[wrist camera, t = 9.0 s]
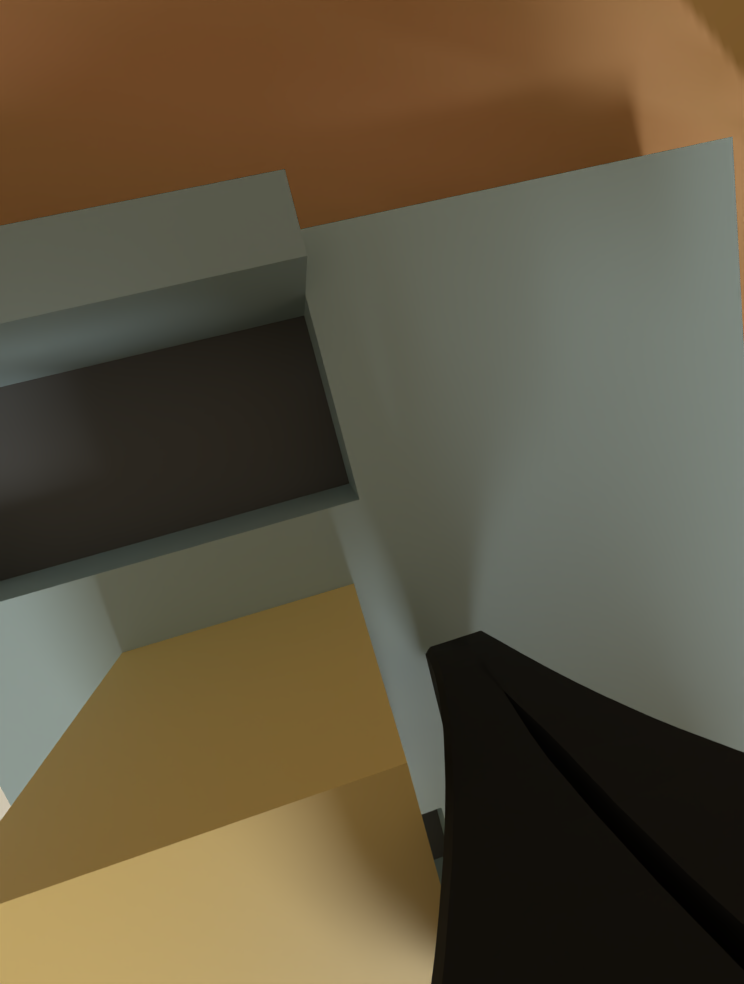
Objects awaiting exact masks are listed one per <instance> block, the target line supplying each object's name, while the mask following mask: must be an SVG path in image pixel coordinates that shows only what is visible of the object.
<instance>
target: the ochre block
mask: <svg viewBox="0 0 744 984" xmlns="http://www.w3.org/2000/svg"><path fill="white" fill-rule="evenodd" d="M440 891H441V884H440V881H439V877H438V873H437V870H436V866H435V862H434V859H433V855H432V851H431V848H430V844H429V840H428V837H427V833H426V830H425V826H424V822H423V819H422V815H421V811H420V808H419V804H418V800H417V797H416V793H415V789H414V786H413V782H412V778H411V775H410V771H409V767H408V764H407V760H406V757H405V754H404V750H403V747H402V743H401V740H400V737H399V733H398V730H397V727H396V723H395V720H394V717H393V713H392V710H391V707H390V703H389V700H388V696H387V693H386V690H385V686H384V683H383V680H382V676H381V673H380V670H379V666H378V663H377V660H376V656H375V653H374V649H373V646H372V643H371V639H370V636H369V633H368V629H367V626H366V623H365V619H364V616H363V613H362V609H361V606H360V602H359V599H358V596H357V592H356V589H355V586H354V584H350V585H347V586H344V587H340V588H337V589H334V590H330V591H327V592H324V593H320V594H317V595H314V596H310V597H307V598H304V599H300V600H297V601H294V602H290V603H287V604H284V605H280V606H277V607H274V608H270V609H267V610H263V611H260V612H257V613H253V614H250V615H247V616H243V617H240V618H237V619H233V620H230V621H227V622H223V623H220V624H217V625H213V626H210V627H207V628H203V629H200V630H197V631H193V632H190V633H186V634H183V635H180V636H176V637H173V638H170V639H166V640H163V641H160V642H156V643H153V644H150V645H146V646H143V647H140V648H136V649H133V650H130V651H126V652H123V653H122V654H121V655H120V656H119V658H118V659H117V661H116V662H115V663H114V665H113V666H112V667H111V669H110V670H109V672H108V673H107V674H106V676H105V677H104V678H103V680H102V681H101V683H100V684H99V685H98V687H97V688H96V690H95V691H94V692H93V694H92V695H91V696H90V698H89V699H88V701H87V702H86V703H85V705H84V706H83V707H82V709H81V710H80V712H79V713H78V714H77V716H76V717H75V719H74V720H73V721H72V723H71V724H70V725H69V727H68V728H67V730H66V731H65V732H64V734H63V735H62V736H61V738H60V739H59V741H58V742H57V743H56V745H55V746H54V748H53V749H52V750H51V752H50V753H49V754H48V756H47V757H46V759H45V760H44V761H43V763H42V764H41V765H40V767H39V768H38V770H37V771H36V772H35V774H34V775H33V777H32V778H31V779H30V781H29V782H28V783H27V785H26V786H25V788H24V789H23V790H22V792H21V793H20V794H19V796H18V797H17V799H16V800H15V801H14V803H13V804H12V806H11V807H10V808H9V810H8V811H7V812H6V814H5V815H4V817H3V818H2V819H1V821H0V984H431V980H432V972H433V965H434V956H435V947H436V937H437V927H438V917H439V904H440Z"/></svg>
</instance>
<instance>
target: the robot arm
mask: <svg viewBox="0 0 744 984" xmlns="http://www.w3.org/2000/svg"><path fill="white" fill-rule="evenodd" d="M425 655H426V659H427V663H428V667H429V671H430V675H431V679H432V683H433V688H434V692H435V696H436V700H437V704H438V708H439V712H440V716H441V720H442V724H443V735H444V760H445V826H444V850H443V865H442V878H441V891H440V904H439V917H438V927H437V937H436V947H435V956H434V965H433V972H432V980H431V984H744V752H742V751H739V750H736V749H733V748H731V747H728V746H725V745H723V744H720V743H717V742H715V741H712V740H709V739H707V738H704V737H701V736H699V735H696V734H693V733H691V732H688V731H686V730H683V729H680V728H678V727H675V726H673V725H670V724H668V723H665V722H663V721H660V720H658V719H656V718H653V717H651V716H648V715H646V714H644V713H642V712H639V711H637V710H635V709H633V708H630V707H628V706H626V705H624V704H622V703H619V702H617V701H615V700H613V699H610V698H608V697H606V696H604V695H602V694H600V693H597V692H595V691H593V690H591V689H589V688H587V687H585V686H583V685H581V684H579V683H577V682H575V681H573V680H571V679H569V678H567V677H565V676H563V675H561V674H559V673H557V672H555V671H554V670H552V669H550V668H548V667H546V666H544V665H542V664H540V663H538V662H537V661H535V660H533V659H531V658H529V657H528V656H526V655H524V654H522V653H520V652H519V651H517V650H515V649H513V648H511V647H510V646H508V645H506V644H504V643H503V642H501V641H499V640H497V639H496V638H494V637H492V636H490V635H488V634H487V633H485V632H483V631H478V632H475V633H472V634H469V635H465V636H462V637H459V638H456V639H453V640H450V641H447V642H444V643H441V644H437V645H434V646H431V647H430V648H429V649H428V651H427V652H426V654H425Z"/></svg>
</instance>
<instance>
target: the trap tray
mask: <svg viewBox="0 0 744 984" xmlns="http://www.w3.org/2000/svg"><path fill="white" fill-rule="evenodd" d="M350 584H354V586H355V589H356V592H357V596H358V599H359V602H360V606H361V609H362V613H363V616H364V619H365V623H366V626H367V629H368V633H369V636H370V639H371V643H372V646H373V649H374V653H375V656H376V660H377V663H378V666H379V670H380V673H381V676H382V680H383V683H384V686H385V690H386V693H387V696H388V700H389V703H390V707H391V710H392V713H393V717H394V720H395V723H396V727H397V730H398V733H399V737H400V740H401V743H402V747H403V750H404V754H405V757H406V760H407V764H408V767H409V771H410V775H411V778H412V782H413V786H414V789H415V793H416V797H417V800H418V804H419V808H420V811H421V815H422V819H423V822H424V826H425V830H426V833H427V837H428V840H429V844H430V848H431V851H432V855H433V859H434V862H435V866H436V870H437V873H438V877H439V881H440V884H441V878H442V865H443V850H444V826H445V760H444V735H443V724H442V720H441V716H440V712H439V708H438V704H437V700H436V696H435V692H434V688H433V683H432V679H431V675H430V671H429V667H428V663H427V659H426V655H425V654H426V652H427V651H428V649H429V648H430V647H431V646H434V645H437V644H441V643H444V642H447V641H450V640H453V639H456V638H459V637H462V636H465V635H469V634H472V633H475V632H478V631H483V632H485V633H487V634H488V635H490V636H492V637H494V638H496V639H497V640H499V641H501V642H503V643H504V644H506V645H508V646H510V647H511V648H513V649H515V650H517V651H519V652H520V653H522V654H524V655H526V656H528V657H529V658H531V659H533V660H535V661H537V662H538V663H540V664H542V665H544V666H546V667H548V668H550V669H552V670H554V671H555V672H557V673H559V674H561V675H563V676H565V677H567V678H569V679H571V680H573V681H575V682H577V683H579V684H581V685H583V686H585V687H587V688H589V689H591V690H593V691H595V692H597V693H600V694H602V695H604V696H606V697H608V698H610V699H613V700H615V701H617V702H619V703H622V704H624V705H626V706H628V707H630V708H633V709H635V710H637V711H639V712H642V713H644V714H646V715H648V716H651V717H653V718H656V719H658V720H660V721H663V722H665V723H668V724H670V725H673V726H675V727H678V728H680V729H683V730H686V731H688V732H691V733H693V734H696V735H699V736H701V737H704V738H707V739H709V740H712V741H715V742H717V743H720V744H723V745H725V746H728V747H731V748H733V749H736V750H739V751H742V752H744V342H743V324H742V305H741V287H740V268H739V249H738V231H737V212H736V194H735V175H734V157H733V138H732V137H729V138H724V139H719V140H715V141H710V142H705V143H701V144H696V145H691V146H687V147H682V148H677V149H673V150H668V151H663V152H659V153H654V154H649V155H645V156H640V157H635V158H631V159H626V160H621V161H617V162H612V163H607V164H603V165H598V166H593V167H589V168H584V169H579V170H575V171H570V172H565V173H561V174H556V175H551V176H547V177H542V178H537V179H533V180H528V181H523V182H519V183H514V184H509V185H505V186H500V187H495V188H491V189H486V190H481V191H477V192H472V193H467V194H463V195H458V196H453V197H449V198H444V199H440V200H435V201H430V202H426V203H421V204H416V205H412V206H407V207H402V208H398V209H393V210H388V211H384V212H379V213H374V214H370V215H365V216H360V217H356V218H351V219H346V220H342V221H337V222H332V223H328V224H323V225H318V226H314V227H309V228H304V229H300V226H299V222H298V218H297V215H296V211H295V207H294V203H293V199H292V195H291V191H290V188H289V184H288V180H287V176H286V172H285V169H283V170H278V171H273V172H268V173H263V174H257V175H252V176H247V177H242V178H237V179H232V180H227V181H222V182H217V183H212V184H207V185H202V186H197V187H192V188H187V189H182V190H177V191H172V192H167V193H162V194H157V195H152V196H147V197H142V198H137V199H132V200H127V201H122V202H117V203H112V204H107V205H102V206H97V207H92V208H87V209H82V210H77V211H72V212H67V213H62V214H57V215H51V216H46V217H41V218H36V219H31V220H26V221H21V222H16V223H11V224H6V225H1V226H0V821H1V819H2V818H3V817H4V815H5V814H6V812H7V811H8V810H9V808H10V807H11V806H12V804H13V803H14V801H15V800H16V799H17V797H18V796H19V794H20V793H21V792H22V790H23V789H24V788H25V786H26V785H27V783H28V782H29V781H30V779H31V778H32V777H33V775H34V774H35V772H36V771H37V770H38V768H39V767H40V765H41V764H42V763H43V761H44V760H45V759H46V757H47V756H48V754H49V753H50V752H51V750H52V749H53V748H54V746H55V745H56V743H57V742H58V741H59V739H60V738H61V736H62V735H63V734H64V732H65V731H66V730H67V728H68V727H69V725H70V724H71V723H72V721H73V720H74V719H75V717H76V716H77V714H78V713H79V712H80V710H81V709H82V707H83V706H84V705H85V703H86V702H87V701H88V699H89V698H90V696H91V695H92V694H93V692H94V691H95V690H96V688H97V687H98V685H99V684H100V683H101V681H102V680H103V678H104V677H105V676H106V674H107V673H108V672H109V670H110V669H111V667H112V666H113V665H114V663H115V662H116V661H117V659H118V658H119V656H120V655H121V654H122V653H123V652H126V651H130V650H133V649H136V648H140V647H143V646H146V645H150V644H153V643H156V642H160V641H163V640H166V639H170V638H173V637H176V636H180V635H183V634H186V633H190V632H193V631H197V630H200V629H203V628H207V627H210V626H213V625H217V624H220V623H223V622H227V621H230V620H233V619H237V618H240V617H243V616H247V615H250V614H253V613H257V612H260V611H263V610H267V609H270V608H274V607H277V606H280V605H284V604H287V603H290V602H294V601H297V600H300V599H304V598H307V597H310V596H314V595H317V594H320V593H324V592H327V591H330V590H334V589H337V588H340V587H344V586H347V585H350Z"/></svg>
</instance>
